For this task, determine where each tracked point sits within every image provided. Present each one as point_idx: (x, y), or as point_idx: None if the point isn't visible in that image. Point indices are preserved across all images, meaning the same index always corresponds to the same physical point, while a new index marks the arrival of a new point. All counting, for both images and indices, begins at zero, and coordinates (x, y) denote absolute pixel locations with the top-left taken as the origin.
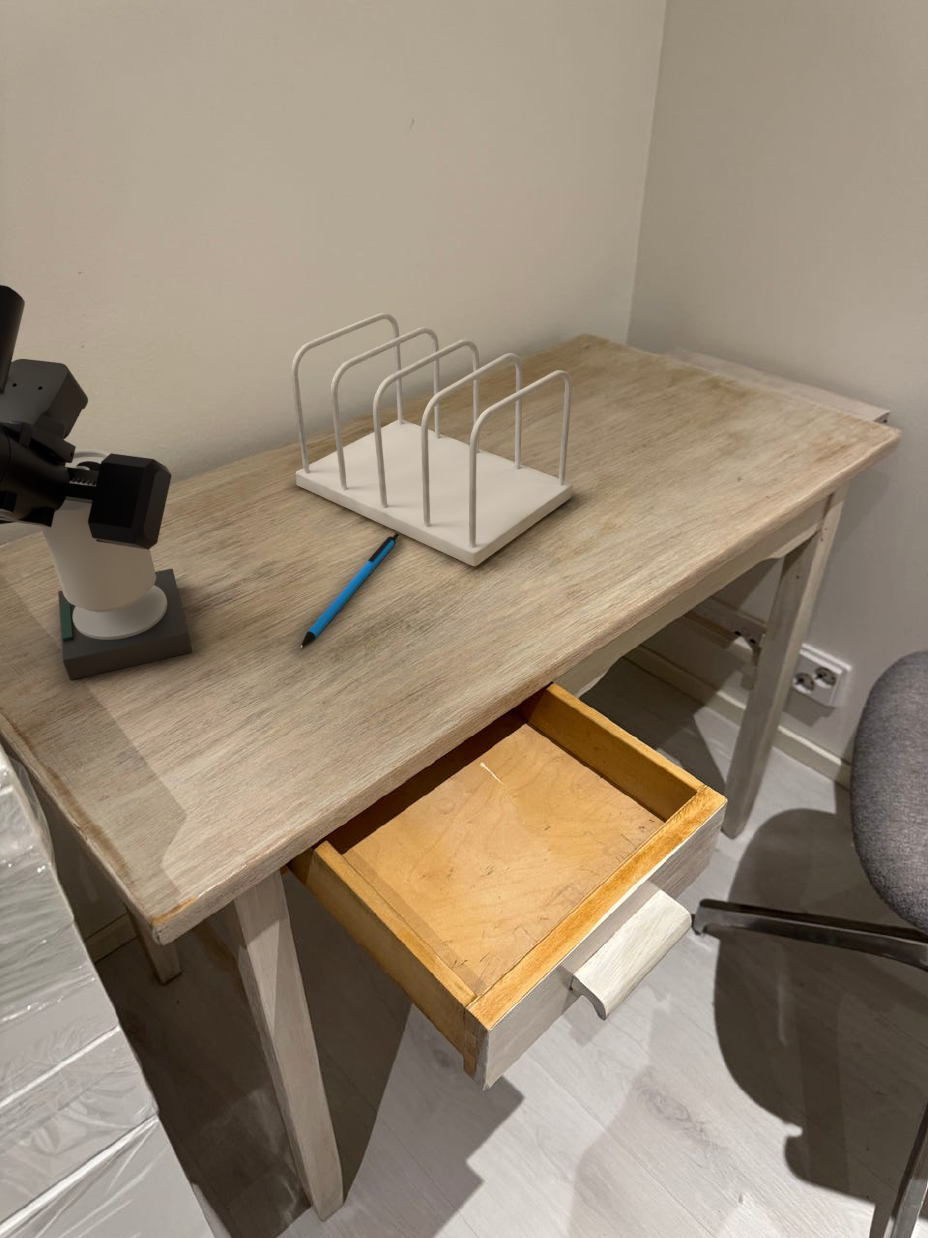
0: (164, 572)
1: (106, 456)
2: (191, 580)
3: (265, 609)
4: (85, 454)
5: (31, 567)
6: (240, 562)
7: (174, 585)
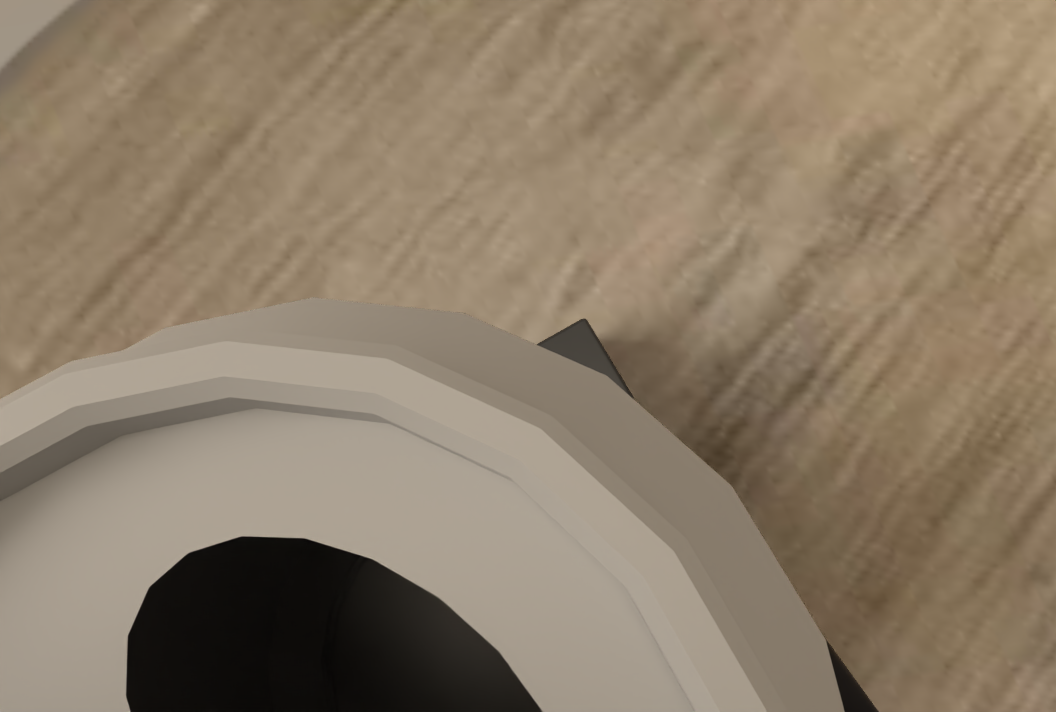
0: (565, 349)
1: (449, 448)
2: (620, 291)
3: (968, 414)
4: (143, 417)
5: (23, 313)
6: (756, 160)
7: None
